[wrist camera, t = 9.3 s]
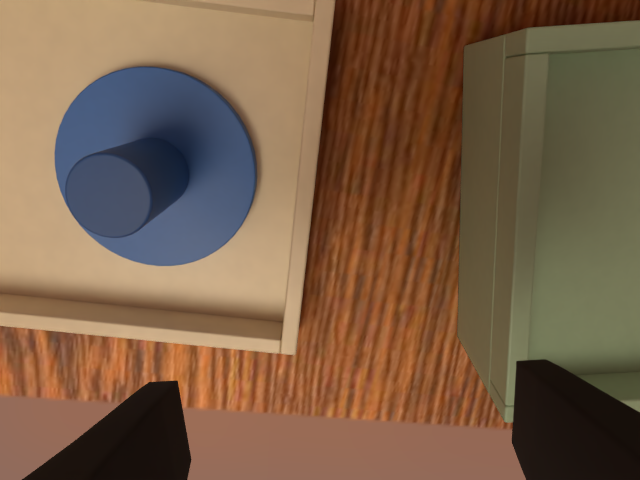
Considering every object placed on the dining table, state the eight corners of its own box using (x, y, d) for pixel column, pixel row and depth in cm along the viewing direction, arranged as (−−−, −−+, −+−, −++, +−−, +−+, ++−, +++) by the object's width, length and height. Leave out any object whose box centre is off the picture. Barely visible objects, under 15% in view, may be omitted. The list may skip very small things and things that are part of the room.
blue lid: (266, 255, 19) (249, 307, 14) (84, 266, 19) (12, 320, 15) (246, 60, 17) (220, 51, 12) (42, 73, 17) (-56, 69, 12)
